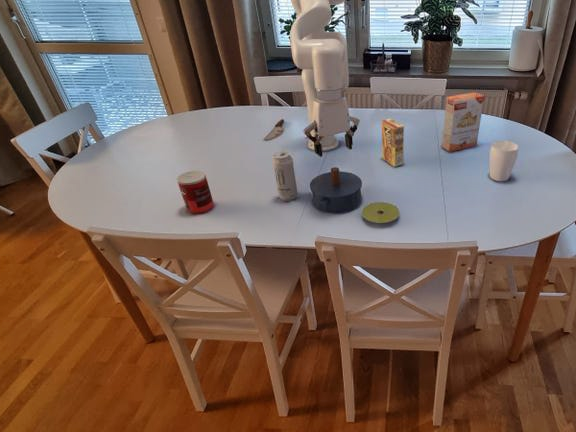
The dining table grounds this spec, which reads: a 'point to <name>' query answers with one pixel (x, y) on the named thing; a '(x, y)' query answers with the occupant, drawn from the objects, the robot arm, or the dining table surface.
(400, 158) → the candy box
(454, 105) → the cracker box
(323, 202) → the pan
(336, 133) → the robot arm
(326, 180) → the pan lid
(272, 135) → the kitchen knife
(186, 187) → the canned food
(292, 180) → the energy drink can
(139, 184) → the dining table surface
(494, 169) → the cup
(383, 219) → the olive green disc
